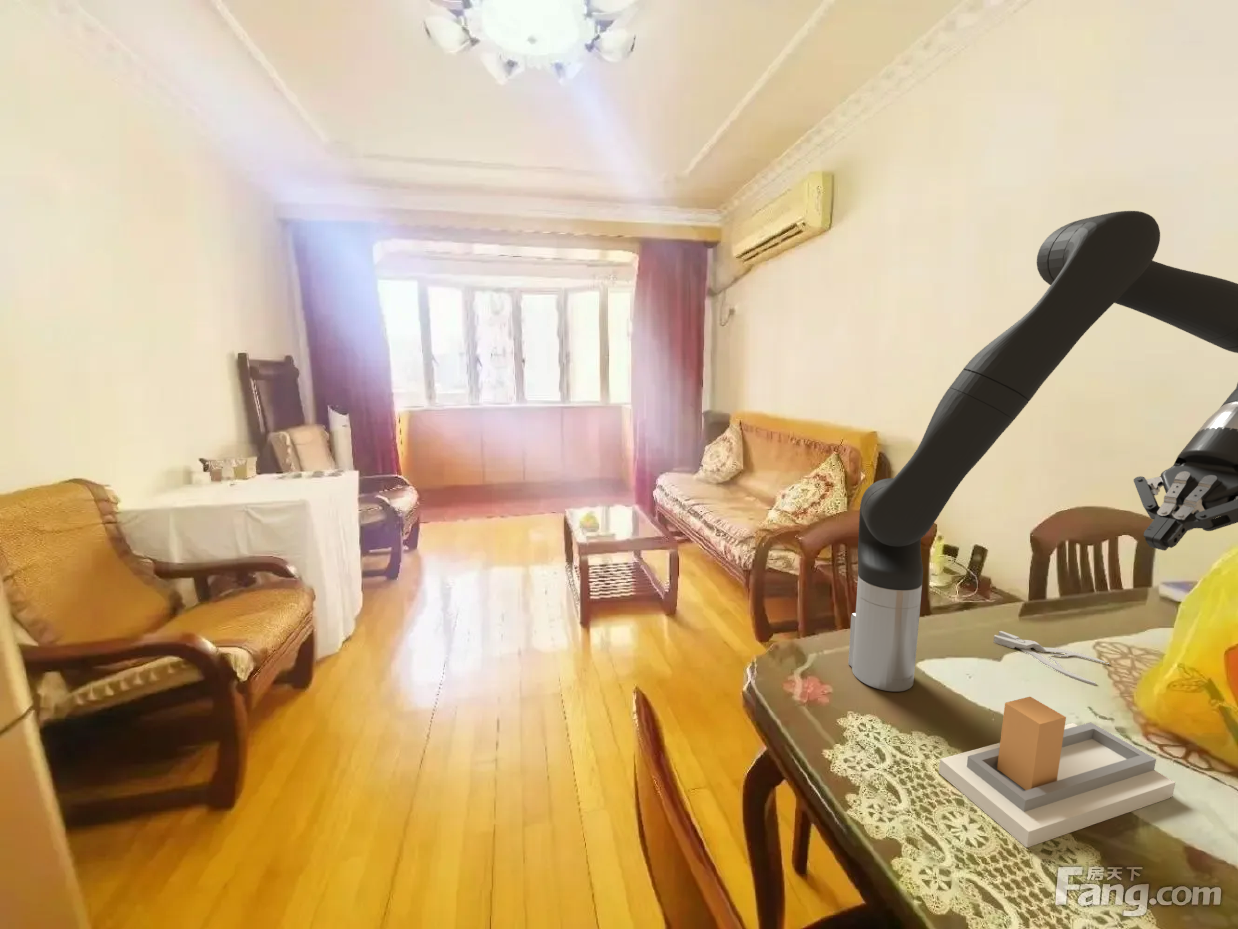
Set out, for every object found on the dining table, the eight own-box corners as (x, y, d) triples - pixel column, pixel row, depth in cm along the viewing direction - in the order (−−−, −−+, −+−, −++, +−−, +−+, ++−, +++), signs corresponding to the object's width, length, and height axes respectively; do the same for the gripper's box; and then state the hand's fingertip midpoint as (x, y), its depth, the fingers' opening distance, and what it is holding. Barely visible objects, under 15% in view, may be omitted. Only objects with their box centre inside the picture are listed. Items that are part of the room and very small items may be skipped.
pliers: (1095, 679, 83) (986, 641, 94) (1094, 688, 83) (985, 649, 95) (1110, 657, 88) (1006, 625, 100) (1109, 666, 89) (1005, 632, 101)
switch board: (938, 772, 66) (941, 748, 65) (1070, 735, 72) (1074, 713, 71) (1026, 847, 55) (1030, 819, 55) (1172, 796, 61) (1177, 771, 61)
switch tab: (997, 768, 63) (1005, 702, 62) (1021, 761, 64) (1030, 696, 63) (1030, 793, 60) (1039, 724, 58) (1056, 785, 61) (1066, 717, 59)
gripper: (1159, 421, 72) (1084, 514, 71) (1304, 430, 60) (1215, 543, 59) (1179, 456, 75) (1106, 546, 74) (1322, 472, 62) (1236, 581, 61)
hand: (1154, 545), depth 66 cm, fingers closed
